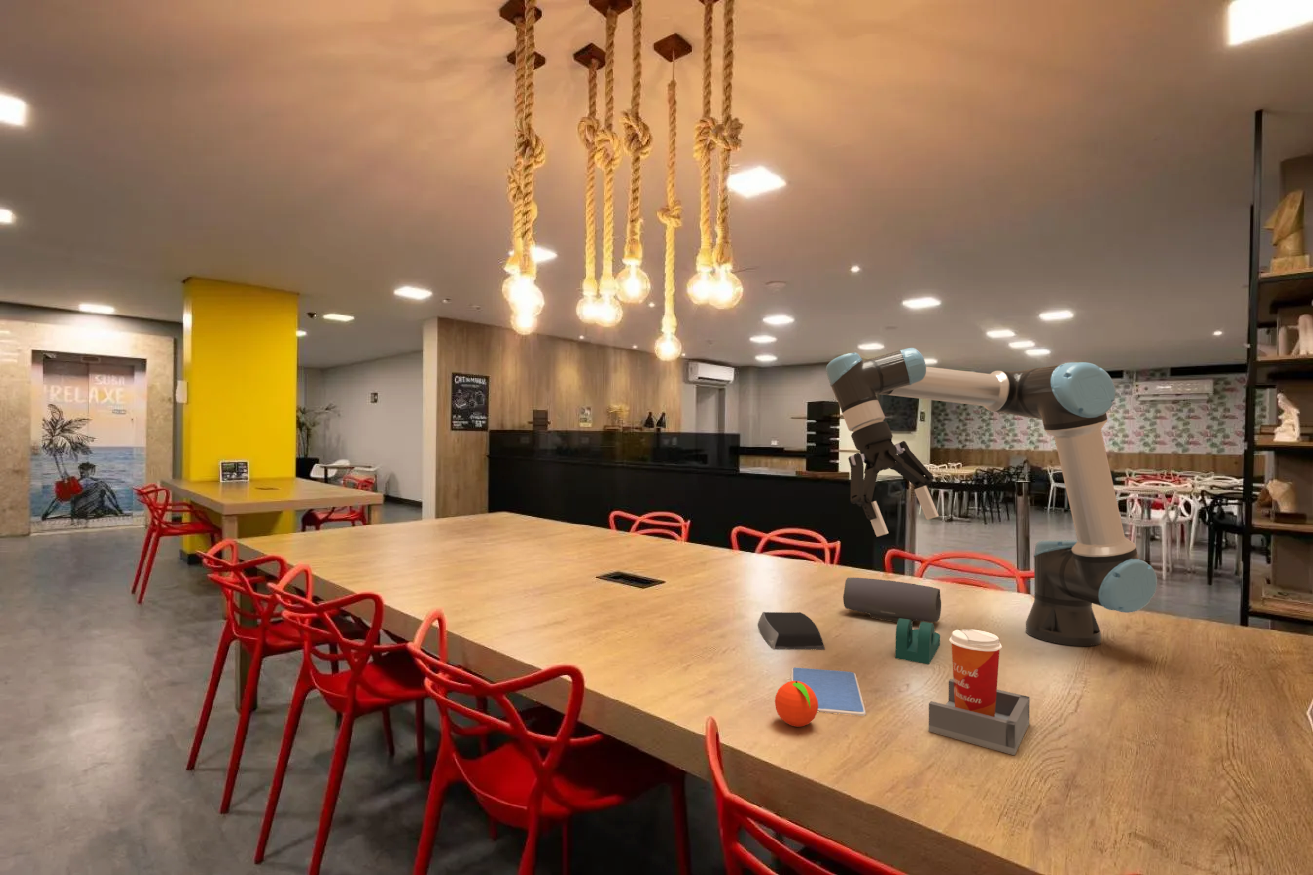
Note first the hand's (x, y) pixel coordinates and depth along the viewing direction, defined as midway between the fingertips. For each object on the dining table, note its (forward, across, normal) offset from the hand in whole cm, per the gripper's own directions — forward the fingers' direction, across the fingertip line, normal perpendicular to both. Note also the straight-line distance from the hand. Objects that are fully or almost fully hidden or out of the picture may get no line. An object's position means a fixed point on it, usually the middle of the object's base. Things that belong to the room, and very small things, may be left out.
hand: (908, 526), depth 125 cm
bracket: (+27, -10, -22) cm, 36 cm away
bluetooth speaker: (+22, -22, -41) cm, 52 cm away
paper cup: (+32, +12, +10) cm, 36 cm away
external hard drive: (+17, +11, -39) cm, 44 cm away
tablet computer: (+24, +25, -10) cm, 36 cm away
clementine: (+24, +38, 0) cm, 45 cm away
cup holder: (+33, +12, +10) cm, 37 cm away
